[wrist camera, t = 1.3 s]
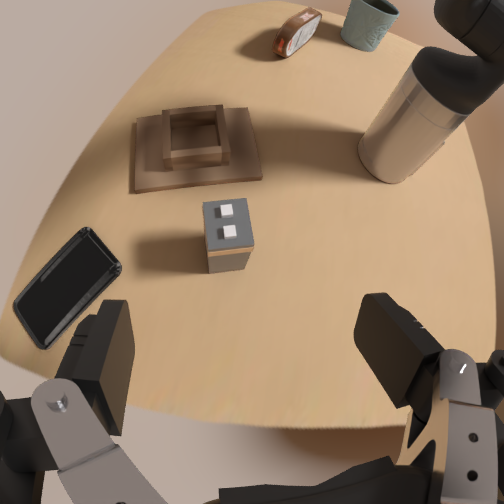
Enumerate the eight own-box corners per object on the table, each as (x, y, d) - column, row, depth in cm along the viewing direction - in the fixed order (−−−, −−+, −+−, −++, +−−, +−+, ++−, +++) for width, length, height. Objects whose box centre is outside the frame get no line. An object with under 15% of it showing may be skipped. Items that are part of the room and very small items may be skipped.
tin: (303, 32, 52) (313, 1, 44) (316, 38, 52) (327, 7, 44) (267, 59, 47) (275, 23, 39) (282, 66, 47) (293, 30, 39)
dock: (246, 111, 43) (250, 93, 39) (261, 180, 39) (266, 163, 36) (138, 122, 40) (133, 104, 36) (136, 193, 37) (129, 177, 33)
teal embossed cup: (334, 25, 55) (349, -15, 44) (373, 35, 56) (391, -1, 45) (342, 47, 52) (361, 4, 41) (384, 59, 53) (406, 20, 42)
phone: (124, 267, 33) (42, 353, 29) (126, 269, 34) (46, 353, 30) (86, 222, 34) (10, 304, 30) (89, 226, 35) (15, 305, 31)
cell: (238, 232, 37) (247, 194, 28) (244, 269, 36) (256, 242, 27) (203, 236, 36) (202, 199, 27) (208, 274, 35) (207, 248, 26)
